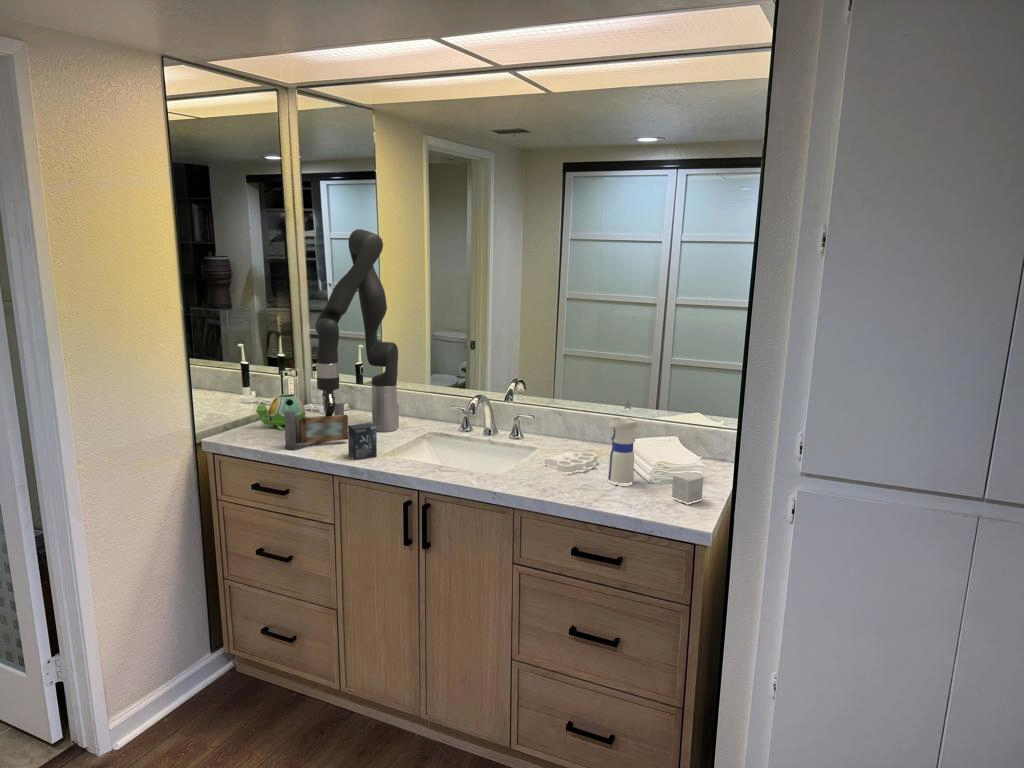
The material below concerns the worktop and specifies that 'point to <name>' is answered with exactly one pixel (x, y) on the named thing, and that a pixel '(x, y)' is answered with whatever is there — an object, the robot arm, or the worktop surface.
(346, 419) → the gate
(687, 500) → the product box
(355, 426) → the box
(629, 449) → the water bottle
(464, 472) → the worktop surface
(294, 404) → the turtle holder
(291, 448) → the gate frame
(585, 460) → the knuckle duster
